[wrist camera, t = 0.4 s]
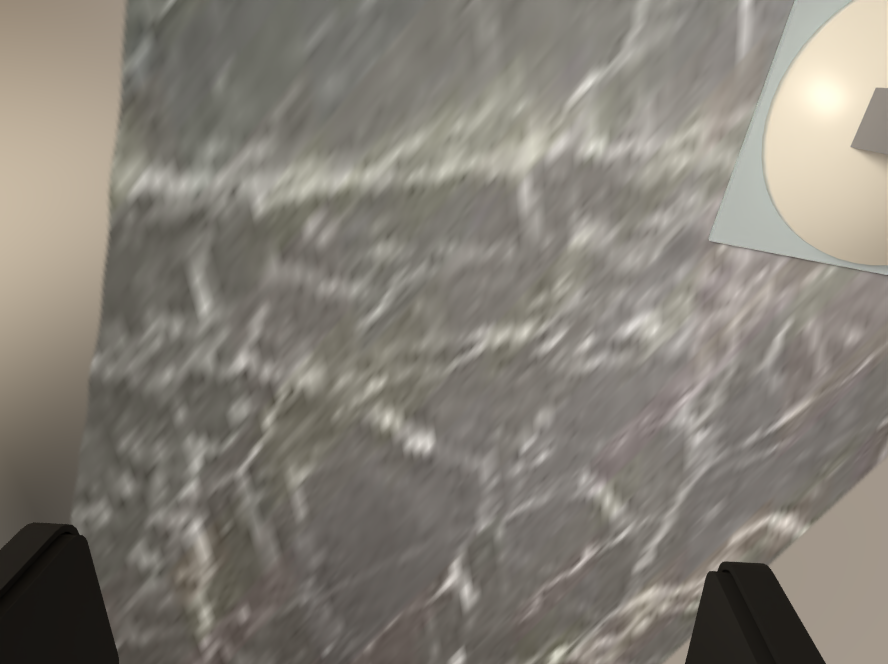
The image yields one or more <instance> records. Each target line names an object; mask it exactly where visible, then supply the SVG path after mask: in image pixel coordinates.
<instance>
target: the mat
mask: <svg viewBox="0 0 888 664" xmlns="http://www.w3.org/2000/svg"><path fill="white" fill-rule="evenodd" d="M851 1H852V0H795V1H794V4H793V7H792V10H791V12H790V15H789V18H788V21H787V24H786V26H785V29H784V32H783V35H782V37H781V40H780V43H779V46H778V48H777V51H776V54H775V57H774V59H773V62H772V65H771V68H770V70H769V73H768V76H767V79H766V81H765V84H764V87H763V90H762V93H761V95H760V98H759V101H758V104H757V106H756V109H755V112H754V115H753V117H752V120H751V123H750V126H749V128H748V131H747V134H746V137H745V139H744V142H743V145H742V148H741V150H740V153H739V156H738V159H737V162H736V164H735V167H734V170H733V173H732V175H731V178H730V181H729V184H728V186H727V189H726V192H725V195H724V197H723V200H722V203H721V206H720V208H719V211H718V214H717V217H716V220H715V222H714V225H713V228H712V231H711V233H710V236H709V239H708V240H710V241H712V242H718V243H723V244H728V245H733V246H738V247H744V248H749V249H754V250H759V251H764V252H770V253H775V254H780V255H785V256H791V257H796V258H801V259H806V260H811V261H817V262H822V263H827V264H832V265H837V266H843V267H848V268H853V269H858V270H863V271H869V272H874V273H879V274H884V275H888V265H865V264H857V263H852V262H849V261H845V260H841V259H838V258H835V257H833V256H831V255H828V254H826V253H824V252H822V251H820V250H818V249H816V248H815V247H813V246H811V245H810V244H808V243H806V242H805V241H803V240H802V239H801V238H799V237H798V236H797V235H796V234H795V233H794V232H792V231H791V230H790V229H789V227H788V226H787V225H786V224H785V223H784V221H783V220H782V219H781V218H780V216H779V214H778V213H777V211H776V209H775V208H774V206H773V204H772V202H771V199H770V197H769V194H768V192H767V189H766V185H765V181H764V176H763V169H762V158H761V154H762V137H763V131H764V126H765V120H766V117H767V113H768V110H769V107H770V104H771V100H772V98H773V96H774V94H775V91H776V89H777V87H778V84H779V82H780V80H781V78H782V77H783V75H784V73H785V72H786V70H787V68H788V66H789V65H790V63H791V61H792V60H793V59H794V57H795V56H796V55H797V53H798V52H799V50H800V49H801V48H802V46H803V45H804V44H805V43H806V41H807V40H808V39H809V38H810V37H811V36H812V35H813V34H814V33H815V31H816V30H817V29H818V28H819V27H820V26H821V25H822V24H824V23H825V22H826V21H827V20H828V19H829V18H830V17H831V16H832V15H833V14H835V13H836V12H837V11H838V10H840V9H841V8H842V7H844V6H845V5H847V4H848V3H849V2H851Z"/></svg>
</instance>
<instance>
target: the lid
mask: <svg viewBox="0 0 888 664" xmlns="http://www.w3.org/2000/svg"><path fill="white" fill-rule="evenodd" d="M761 158H762V169H763V176H764V181H765V185H766V189H767V192H768V194H769V197H770V199H771V202H772V204H773V206H774V208H775V209H776V211H777V213H778V214H779V216H780V218H781V219H782V220H783V221H784V223H785V224H786V225H787V226H788V227H789V229H790V230H791V231H792V232H794V233H795V234H796V235H797V236H798V237H799V238H801V239H802V240H803V241H805V242H806V243H808V244H810V245H811V246H813V247H815V248H816V249H818V250H820V251H822V252H824V253H826V254H828V255H831V256H833V257H835V258H838V259H841V260H845V261H849V262H852V263H857V264H865V265H888V0H852V1H851V2H849V3H848V4H847V5H845V6H844V7H842V8H841V9H840V10H838V11H837V12H836V13H835V14H833V15H832V16H831V17H830V18H829V19H828V20H827V21H826V22H825V23H824V24H822V25H821V26H820V27H819V28H818V29H817V30H816V31H815V33H814V34H813V35H812V36H811V37H810V38H809V39H808V40H807V41H806V43H805V44H804V45H803V46H802V48H801V49H800V50H799V52H798V53H797V55H796V56H795V57H794V59H793V60H792V61H791V63H790V65H789V66H788V68H787V70H786V72H785V73H784V75H783V77H782V78H781V80H780V82H779V84H778V87H777V89H776V91H775V94H774V96H773V98H772V100H771V104H770V107H769V110H768V113H767V117H766V120H765V126H764V131H763V137H762V154H761Z"/></svg>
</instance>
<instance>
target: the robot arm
mask: <svg viewBox="0 0 888 664" xmlns="http://www.w3.org/2000/svg"><path fill="white" fill-rule="evenodd" d="M0 664H119V657H118V653H117V649H116V645H115V642H114V638H113V634H112V631H111V627H110V623H109V620H108V616H107V612H106V609H105V605H104V601H103V597H102V594H101V590H100V586H99V583H98V579H97V575H96V572H95V568H94V564H93V560H92V557H91V553H90V549H89V546H88V542H87V540H86V538H85V537H84V536H83V535H79V533H78V530H77V528H75V527H74V526H73V525H68V524H51V523H31V524H28V525H26V526H25V527H24V528H22V529H21V530H20V531H19V532H18V533H17V534H16V535H15V536H14V537H13V538H12V539H11V540H10V541H9V542H8V543H7V544H6V545H5V546H4V547H3V548H2V549H1V550H0ZM685 664H826V663H825V661H824V660H823V658H822V657H821V655H820V653H819V651H818V650H817V648H816V646H815V644H814V643H813V641H812V639H811V637H810V636H809V634H808V632H807V630H806V629H805V627H804V625H803V624H802V622H801V620H800V619H799V617H798V615H797V613H796V612H795V610H794V608H793V606H792V605H791V603H790V601H789V599H788V598H787V596H786V594H785V593H784V591H783V589H782V587H781V586H780V584H779V582H778V580H777V579H776V577H775V575H774V574H773V572H772V571H771V569H770V568H769V567H768V566H767V565H765V564H761V563H743V562H722V563H721V564H720V566H719V568H718V571H717V572H716V571H709V573H708V574H707V576H706V579H705V583H704V588H703V592H702V596H701V600H700V604H699V608H698V612H697V616H696V621H695V625H694V629H693V633H692V637H691V641H690V646H689V650H688V654H687V658H686V662H685Z"/></svg>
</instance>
